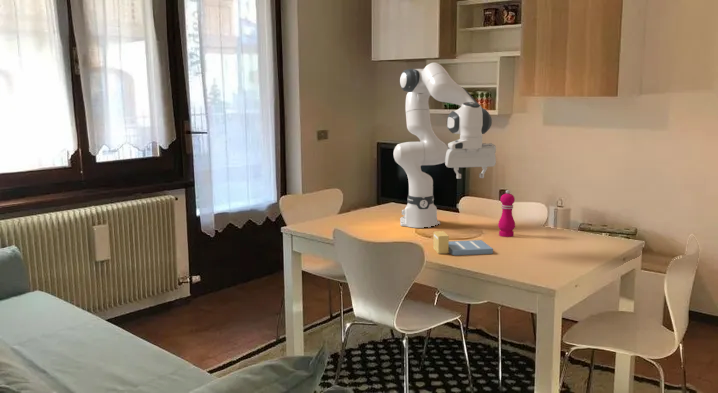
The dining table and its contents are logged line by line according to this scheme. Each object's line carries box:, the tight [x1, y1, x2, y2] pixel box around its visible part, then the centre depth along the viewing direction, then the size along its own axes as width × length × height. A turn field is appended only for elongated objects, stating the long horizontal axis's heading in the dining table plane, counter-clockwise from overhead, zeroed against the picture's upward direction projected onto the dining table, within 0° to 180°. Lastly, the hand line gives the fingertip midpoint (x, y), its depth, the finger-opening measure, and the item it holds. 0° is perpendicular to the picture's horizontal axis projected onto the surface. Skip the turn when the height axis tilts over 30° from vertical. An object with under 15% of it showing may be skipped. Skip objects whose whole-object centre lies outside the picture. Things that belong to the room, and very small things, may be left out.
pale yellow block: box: [432, 230, 450, 255], centre depth 262 cm, size 8×4×7 cm, turn 8°
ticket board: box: [448, 239, 494, 256], centre depth 264 cm, size 14×17×2 cm
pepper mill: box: [497, 189, 516, 238], centre depth 286 cm, size 7×7×20 cm
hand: (470, 178), depth 266 cm, fingers open, 8 cm apart
